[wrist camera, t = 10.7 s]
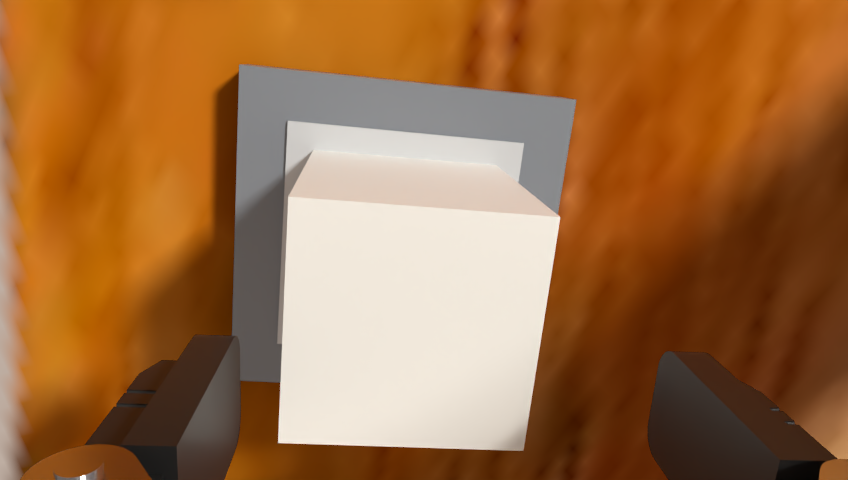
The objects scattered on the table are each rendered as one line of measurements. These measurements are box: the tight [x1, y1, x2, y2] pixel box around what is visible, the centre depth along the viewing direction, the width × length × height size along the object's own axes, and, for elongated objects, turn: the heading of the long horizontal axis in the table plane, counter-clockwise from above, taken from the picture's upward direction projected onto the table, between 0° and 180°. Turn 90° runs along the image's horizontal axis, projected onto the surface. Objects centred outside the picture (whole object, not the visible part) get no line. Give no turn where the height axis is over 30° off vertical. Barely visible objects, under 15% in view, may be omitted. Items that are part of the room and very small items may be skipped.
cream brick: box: [278, 150, 560, 451], centre depth 15 cm, size 5×5×6 cm
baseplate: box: [232, 64, 576, 383], centre depth 19 cm, size 9×9×1 cm
